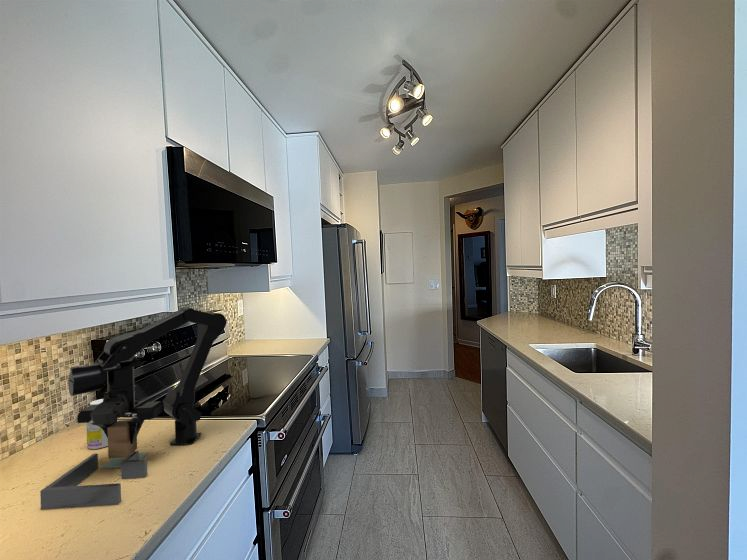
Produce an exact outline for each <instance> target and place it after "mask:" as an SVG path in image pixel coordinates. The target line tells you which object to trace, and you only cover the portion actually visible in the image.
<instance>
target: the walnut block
mask: <svg viewBox="0 0 747 560" xmlns="http://www.w3.org/2000/svg"><path fill="white" fill-rule="evenodd" d="M129 420H130V419H121V420H120V419H119V420H117V422H116V423H114V424H112V425H111V426H109V427H108V446H107V457H108V458H107V459H112V458H125V457H128V456H129V455H130V454H132V453H133V452H134V451H137V450H138V437H137V438H136V440H135V442H134V443H133V444H131V443H130V425H129V424H128V423H127V422H128V421H129Z"/></svg>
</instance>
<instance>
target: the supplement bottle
mask: <svg viewBox="0 0 747 560" xmlns="http://www.w3.org/2000/svg"><path fill="white" fill-rule="evenodd" d="M103 399H104V398H100V399H96V400H93V401H91V402H90V403H89V406H91V405H98V404H100V403H102V402H103ZM92 423H93V421H92V420H91V421H90V422H89V423H85V424H86V425H85V427H86V446H87V448H88V449H90V450H98V449H104V448H106V447H108V438H107V436H106V434H105V433H104V431H103V430H102V428H101V427H99V426H97V425H92Z"/></svg>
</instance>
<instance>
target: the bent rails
mask: <svg viewBox="0 0 747 560" xmlns="http://www.w3.org/2000/svg"><path fill="white" fill-rule="evenodd" d="M139 453H140V451H139V450H135V451H134V452H133V453H132V454H131V455H130V456H128V457H127V458H126V459H125V460H124V461H122V462H121V468H120V479H121V480H124V479H125V480H127V479H130V480H131V479H144V478H146V477H147V476H148V459H146V458H145V459H144V458H142V459H141V460H139ZM97 470H99V453H92V454H91V455H89V456H88V457H86V459H84V460H82V461H81V462H80V463H78V464H77V465H75V466H74V467H72V468H71V469H70V470H68V471H67V472H65V473H64V474H62V475H60V476H59V477H58V478H56V479H55V480H53V481H52V482H51V483H49V484H48V485H46V486H45V487H44V488H42V489H41V490H40V492H39V493H40V494H39V495H40V510H41V511H42V510H55V509H58V510H59V509H71V508H72V509H73V508H86V507H98V506H99V507H100V506H112V505H113V506H114V505H115V506H118V505H119V504H120V503H121V502H122V483H104V484H88V485H85V484H83V485H79V484H81V483H82V482H83V481H84V480H86V479H87V478H88V477H90V476H91V475H92V474H93V473H95V472H96V471H97Z"/></svg>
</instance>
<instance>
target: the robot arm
mask: <svg viewBox="0 0 747 560" xmlns="http://www.w3.org/2000/svg"><path fill="white" fill-rule="evenodd" d="M227 321H228V320H227V318H226V316H225V315H224V314H222V313H221V312H212V311H211V312H210V311H208V312H205V311H201V310H197V309H194V308H193V307H182V308H179V309H178V310H177V311H175V312H173V313H172V314H169V315H167V316H165V317H163V318H161V319H159V320H156V321H154V322H152V323H151V324H149V325H147V326H144V327H142V328H141V329H139V330H135V331H130V332H127V333H123V334H120V335H118V336H114V337H111V338H109V339H108V340H107V341H106V342H105V344H104V347H103V351H102V353H101V354H100V355H99V356H98V358H97V359H96V360H95V361H94V363H93V364H88V365H82V366H80V365H79V366H77V365H76V366H71V367H70V369H69V370H70V371H69V374H68V379H67V386H68V393H69V396H71V397H75V396H77V395H78V396H79V395H82V394H83V395H84V394H87V393H93V392H96V391H97V392H98V391H100V390H102V388H104V387H105V385H106V384H107V391H105V392H104V393H103V394H104V395H103V398H102V399H103V402H102V403H100V404H98V405H91V406H90V405H89V406H87V407H86V408H83V409H81V410H80V411H78V413H77V415H76V423H77V424H83V423H84V424H86V423H89V422H90V421H91V420H92V421H93V423H92V425H97V426H99V427H101V428H102V430H103V431H104V433H105V434H106V436H107V438H108V427H109V426H111V425H112V424H114V423H116V422H117V421H118V418H123V417H124V416H131V419H128V420H129V421H128V422H127V423H128V424H129V425H130V443H131V444H133V443H134V442H135V440H136V438H137V439H138V435H139V432H140V430H141V428H142V426H143V423H145V420H152V419H154V418H156V417H158V416H159V415H161V414H162V413H163V412H165V414H167V415H169V416H170V417H171V419H174V439H173V440H172V441H171V442H169V445H170V446H178V445H192V444H194V443H195V442H196V441H197V440H198V439H199V438H200V436H201V435H202V432H197V431H198V430H197V422H198V421H200V420H201V418H202V412H201V411H200V410H198V409H197V408H195V407H194V405H195V400H196V386H197V384H198V381H199V378H200V376H201V373H202V372H203V368H204V366H205V364H206V361H207V358H208V356H209V354H210V351H211V349H212V346H213V344H214V342H215V341H216V340H217V339H218V338H219V337H220V336H221V334H222V333H223V332H224V330H225V328H226V327H227V323H228V322H227ZM189 322H190V323H193V324H196V325H197V327H196V328H197V329H196V330H197V331H196V332H197V338H196V341H195V344H194V346H193V349H192V351H191V353H190V356H189V358H188V360H187V363H186V366H185V368H184V370H183V372H182V375H181V377H180V380H179V383H178V384H177V385H176V386H175V387H174V388H168V389H167V393H166V395H165V398H164V399H163V400H162V401H147V402H146V403H144V404H143V405H141V406H137V405H138V404H139V401H138V399H136V395H135V392H136V390H138V384H137V385H135V367H141V366H143V365H144V363H143V362H142V361H140V360H139V359H138V358H137V357H135V356H136V355H137V354H138V353H140V352H141V351H142V350H143V349H145V347H146V346H147V345H149V344H150V343H151V342H153V341H155V340H156V339H158V338H160V337H162V336H164V335H166V334H168V333H170V332H172V331H174V330H176V329H177V328H179V327H181V326H182V325H185V324H186V323H189Z"/></svg>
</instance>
